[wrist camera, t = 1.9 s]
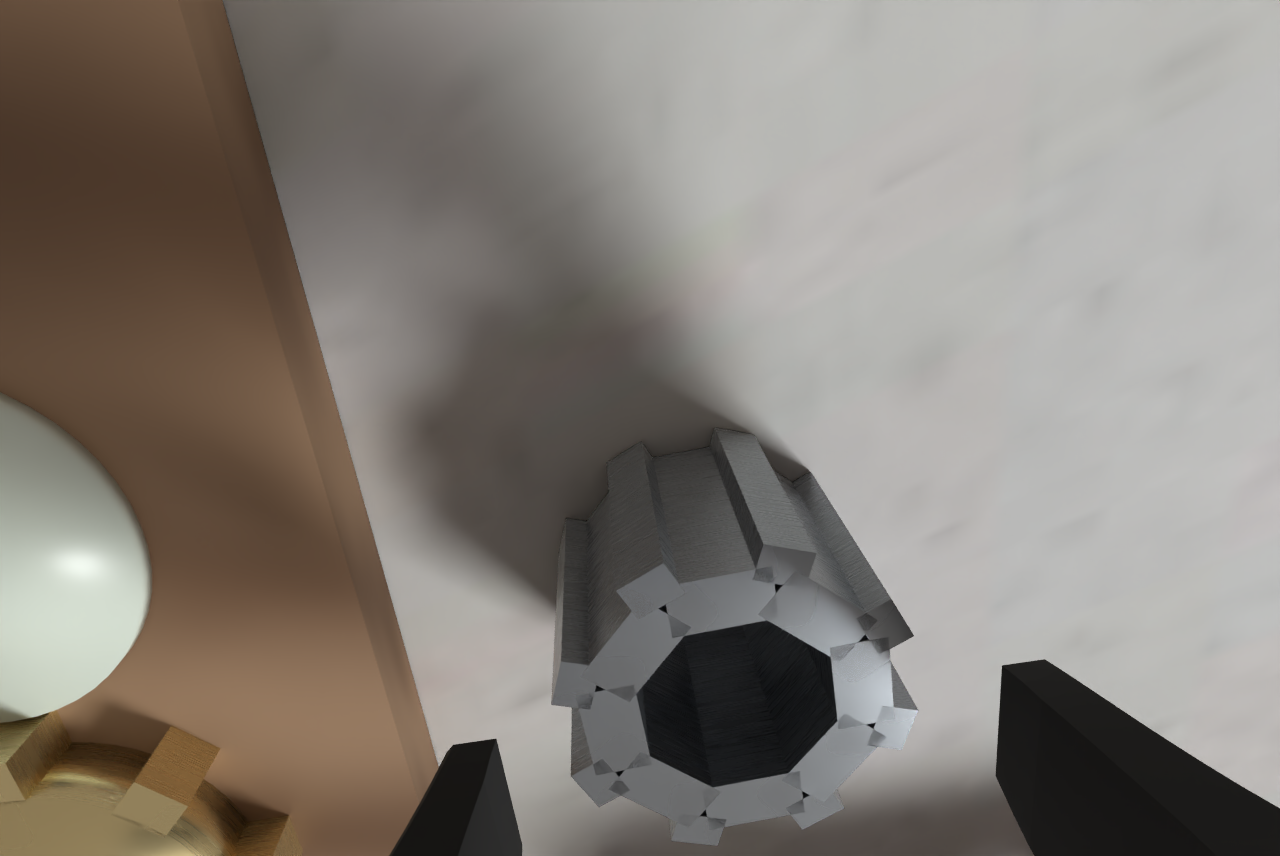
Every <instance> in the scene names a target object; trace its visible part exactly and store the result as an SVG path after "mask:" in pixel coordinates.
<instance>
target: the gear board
mask: <svg viewBox="0 0 1280 856" xmlns="http://www.w3.org/2000/svg"><path fill="white" fill-rule="evenodd" d="M438 768H439V767H438V763H437V760H436V756H435V753H434V749H433V746H432V742H431V739H430V735H429V732H428V728H427V724H426V721H425V717H424V714H423V710H422V707H421V703H420V700H419V696H418V692H417V689H416V685H415V682H414V678H413V675H412V671H411V668H410V664H409V661H408V657H407V653H406V650H405V646H404V643H403V639H402V636H401V632H400V629H399V625H398V622H397V618H396V614H395V611H394V607H393V604H392V600H391V597H390V593H389V590H388V586H387V583H386V579H385V575H384V572H383V568H382V565H381V561H380V558H379V554H378V551H377V547H376V544H375V540H374V536H373V533H372V529H371V526H370V522H369V519H368V515H367V512H366V508H365V505H364V501H363V497H362V494H361V490H360V487H359V483H358V480H357V476H356V473H355V469H354V466H353V462H352V458H351V455H350V451H349V448H348V444H347V441H346V437H345V434H344V430H343V427H342V423H341V419H340V416H339V412H338V409H337V405H336V402H335V398H334V395H333V391H332V388H331V384H330V380H329V377H328V373H327V370H326V366H325V363H324V359H323V356H322V352H321V349H320V345H319V341H318V338H317V334H316V331H315V327H314V324H313V320H312V317H311V313H310V310H309V306H308V302H307V299H306V295H305V292H304V288H303V285H302V281H301V278H300V274H299V271H298V267H297V263H296V260H295V256H294V253H293V249H292V246H291V242H290V239H289V235H288V232H287V228H286V224H285V221H284V217H283V214H282V210H281V207H280V203H279V200H278V196H277V193H276V189H275V185H274V182H273V178H272V175H271V171H270V168H269V164H268V161H267V157H266V154H265V150H264V146H263V143H262V139H261V136H260V132H259V129H258V125H257V122H256V118H255V114H254V111H253V107H252V104H251V100H250V97H249V93H248V90H247V86H246V83H245V79H244V75H243V72H242V68H241V65H240V61H239V58H238V54H237V51H236V47H235V44H234V40H233V36H232V33H231V29H230V26H229V22H228V19H227V15H226V12H225V8H224V5H223V1H222V0H0V856H389V855H390V853H391V852H392V850H393V848H394V847H395V845H396V843H397V842H398V840H399V838H400V837H401V835H402V833H403V832H404V830H405V828H406V826H407V825H408V823H409V821H410V819H411V818H412V816H413V814H414V812H415V811H416V809H417V807H418V805H419V803H420V802H421V800H422V798H423V796H424V794H425V793H426V791H427V789H428V787H429V785H430V783H431V781H432V780H433V778H434V776H435V774H436V772H437V770H438Z"/></svg>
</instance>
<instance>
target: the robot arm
mask: <svg viewBox="0 0 1280 856" xmlns="http://www.w3.org/2000/svg"><path fill="white" fill-rule="evenodd" d="M996 777H997V780H998V782H999V784H1000V786H1001V788H1002V790H1003V793H1004V795H1005V797H1006V799H1007V801H1008V803H1009V806H1010V808H1011V810H1012V812H1013V814H1014V816H1015V818H1016V820H1017V823H1018V825H1019V827H1020V829H1021V831H1022V833H1023V835H1024V837H1025V839H1026V841H1027V843H1028V845H1029V847H1030V849H1031V850H1032V852H1033V854H1034V855H1035V856H1280V808H1278V807H1276V806H1275V805H1273V804H1271V803H1269V802H1268V801H1266V800H1264V799H1263V798H1261V797H1259V796H1257V795H1256V794H1254V793H1252V792H1251V791H1249V790H1247V789H1245V788H1244V787H1242V786H1240V785H1238V784H1237V783H1235V782H1234V781H1232V780H1230V779H1229V778H1227V777H1225V776H1224V775H1222V774H1220V773H1219V772H1217V771H1216V770H1214V769H1212V768H1211V767H1209V766H1207V765H1206V764H1204V763H1203V762H1201V761H1199V760H1198V759H1196V758H1195V757H1193V756H1191V755H1190V754H1188V753H1187V752H1185V751H1184V750H1182V749H1180V748H1179V747H1177V746H1176V745H1174V744H1173V743H1171V742H1169V741H1168V740H1166V739H1165V738H1163V737H1162V736H1160V735H1159V734H1157V733H1156V732H1154V731H1152V730H1151V729H1149V728H1148V727H1146V726H1145V725H1143V724H1142V723H1140V722H1139V721H1137V720H1136V719H1134V718H1133V717H1131V716H1130V715H1128V714H1127V713H1125V712H1124V711H1122V710H1121V709H1119V708H1118V707H1116V706H1115V705H1113V704H1112V703H1110V702H1109V701H1107V700H1106V699H1104V698H1103V697H1101V696H1100V695H1098V694H1097V693H1095V692H1094V691H1092V690H1091V689H1089V688H1088V687H1086V686H1085V685H1083V684H1082V683H1080V682H1079V681H1077V680H1076V679H1074V678H1073V677H1071V676H1070V675H1068V674H1067V673H1065V672H1064V671H1062V670H1061V669H1059V668H1057V667H1056V666H1054V665H1053V664H1051V663H1050V662H1048V661H1046V660H1045V659H1044V660H1037V661H1031V662H1024V663H1017V664H1010V665H1003V666H1002V677H1001V694H1000V711H999V728H998V745H997V762H996ZM389 856H522V842H521V838H520V834H519V830H518V826H517V822H516V818H515V814H514V810H513V806H512V801H511V797H510V793H509V789H508V785H507V781H506V777H505V773H504V769H503V765H502V760H501V756H500V752H499V748H498V744H497V740H496V739H491V740H484V741H477V742H470V743H463V744H456V745H453V746H452V747H451V748H450V749H449V750H448V752H447V753H446V755H445V757H444V759H443V761H442V763H441V765H440V766H439V768H438V770H437V772H436V774H435V776H434V778H433V780H432V781H431V783H430V785H429V787H428V789H427V791H426V793H425V794H424V796H423V798H422V800H421V802H420V803H419V805H418V807H417V809H416V811H415V812H414V814H413V816H412V818H411V819H410V821H409V823H408V825H407V826H406V828H405V830H404V832H403V833H402V835H401V837H400V838H399V840H398V842H397V843H396V845H395V847H394V848H393V850H392V852H391V853H390V855H389Z"/></svg>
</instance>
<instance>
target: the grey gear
mask: <svg viewBox="0 0 1280 856" xmlns="http://www.w3.org/2000/svg"><path fill="white" fill-rule="evenodd" d="M607 474H608V488H609V492H608V493H607V495H606V496H605V497H604V499H603V500H602V501H601V503H600V504H599V506H598V507H597V508H596V510H595V511H594V512H593V514H592V515H591V516H590V518H589V519H588V520H587V521H581V520H575V519H569V518H566V521H565V526H564V530H563V535H562V540H561V545H560V549H559V559H558V579H557V600H556V620H555V640H554V661H553V681H552V701H551V705H558V706H566V707H572V740H571V777H572V778H573V779H574V780H575V781H576V782H577V783H578V785H579V786H580V787H581V788H582V789H583V790H584V791H585V792H586V793H587V794H588V796H589V797H590V798H591V799H592V800H593V801H594V802H595V803H596V804H597V805H598V807H600V806H602V805H604V804H606V803H608V802H609V801H611V800H613V799H615V798H617V797H619V796H620V795H621V796H623V797H625V798H627V799H630V800H632V801H634V802H636V803H638V804H640V805H642V806H644V807H646V808H648V809H651V810H653V811H655V812H657V813H659V814H661V815H663V816H665V817H667V818H669V826H670V834H671V841H676V842H686V843H695V844H704V845H714V846H718V844H719V841H720V838H721V835H722V832H723V829H724V827H729V826H734V825H739V824H745V823H750V822H755V821H760V820H766V819H771V818H776V817H782V816H787V815H791V816H792V817H793V818H794V820H795V821H796V822H797V824H798V825H799V826H800V827H801V829H802V830H803V829H805V828H807V827H809V826H811V825H813V824H815V823H817V822H819V821H821V820H823V819H825V818H827V817H828V816H830V815H832V814H834V813H836V812H838V811H840V810H842V809H844V806H843V803H842V800H841V798H840V795H839V793H838V790H837V788H838V787H839V786H840V785H841V784H842V783H843V782H844V781H845V780H846V779H847V778H848V777H849V776H850V775H851V774H852V773H853V772H854V771H855V769H856V768H857V767H858V766H859V765H860V764H861V763H862V762H863V761H864V760H865V759H866V758H867V757H868V756H869V755H870V754H871V753H872V752H873V751H874V750H875V749H876V748H877V747H883V748H891V749H898V750H902V748H903V746H904V743H905V741H906V739H907V736H908V734H909V731H910V729H911V727H912V724H913V722H914V720H915V717H916V715H917V713H918V709H917V707H916V706H915V704H914V702H913V700H912V698H911V697H910V695H909V693H908V691H907V689H906V688H905V686H904V684H903V682H902V681H901V679H900V677H899V675H898V673H897V672H896V670H895V668H894V666H893V664H892V663H891V661H890V649H891V648H893V647H895V646H897V645H898V644H900V643H902V642H904V641H906V640H908V639H909V638H911V637H913V636H914V635H913V633H912V632H911V630H910V629H909V627H908V625H907V624H906V622H905V620H904V619H903V617H902V616H901V614H900V612H899V611H898V609H897V607H896V606H895V604H894V603H893V601H892V599H891V598H890V596H889V595H888V593H887V591H886V590H885V588H884V587H883V585H882V584H881V582H880V580H879V579H878V577H877V576H876V574H875V572H874V571H873V569H872V568H871V566H870V565H869V563H868V561H867V560H866V558H865V557H864V555H863V554H862V552H861V550H860V549H859V547H858V546H857V544H856V542H855V541H854V539H853V538H852V536H851V535H850V533H849V531H848V530H847V528H846V527H845V525H844V524H843V522H842V520H841V519H840V517H839V516H838V514H837V512H836V511H835V509H834V508H833V506H832V505H831V503H830V501H829V500H828V498H827V497H826V495H825V493H824V492H823V490H822V489H821V487H820V486H819V484H818V482H817V481H816V479H815V478H814V476H813V475H812V473H811V472H809V473H807V474H806V475H804V476H802V477H801V478H799V479H797V480H796V481H794V482H791V481H790V480H788V479H786V478H785V477H783V476H782V475H780V474H779V473H777V472H776V471H774V470H773V469H772V467H771V465H770V464H769V462H768V460H767V458H766V456H765V454H764V452H763V450H762V448H761V447H760V445H759V443H758V441H757V439H756V437H755V435H753V434H748V433H742V432H737V431H731V430H726V429H720V428H714V432H713V435H712V439H711V443H710V446H709V447H707V448H702V449H696V450H691V451H686V452H680V453H675V454H670V455H665V456H659V457H654V458H653V457H652V456H651V455H650V453H649V452H648V450H647V449H646V447H645V446H644V445H643V443H642V442H639V443H638V444H636V445H635V446H633V447H631V448H630V449H628V450H626V451H625V452H623V453H622V454H620V455H618V456H617V457H615V458H613V459H612V460H610V461H609V462H607Z"/></svg>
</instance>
